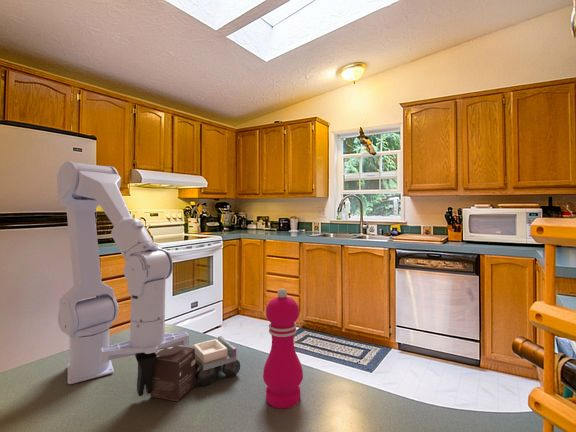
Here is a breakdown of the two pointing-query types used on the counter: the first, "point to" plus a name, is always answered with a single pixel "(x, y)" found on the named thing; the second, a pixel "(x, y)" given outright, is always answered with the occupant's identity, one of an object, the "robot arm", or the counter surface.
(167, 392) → the box
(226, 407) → the counter surface
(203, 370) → the trolley
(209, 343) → the tray
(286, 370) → the pepper mill
